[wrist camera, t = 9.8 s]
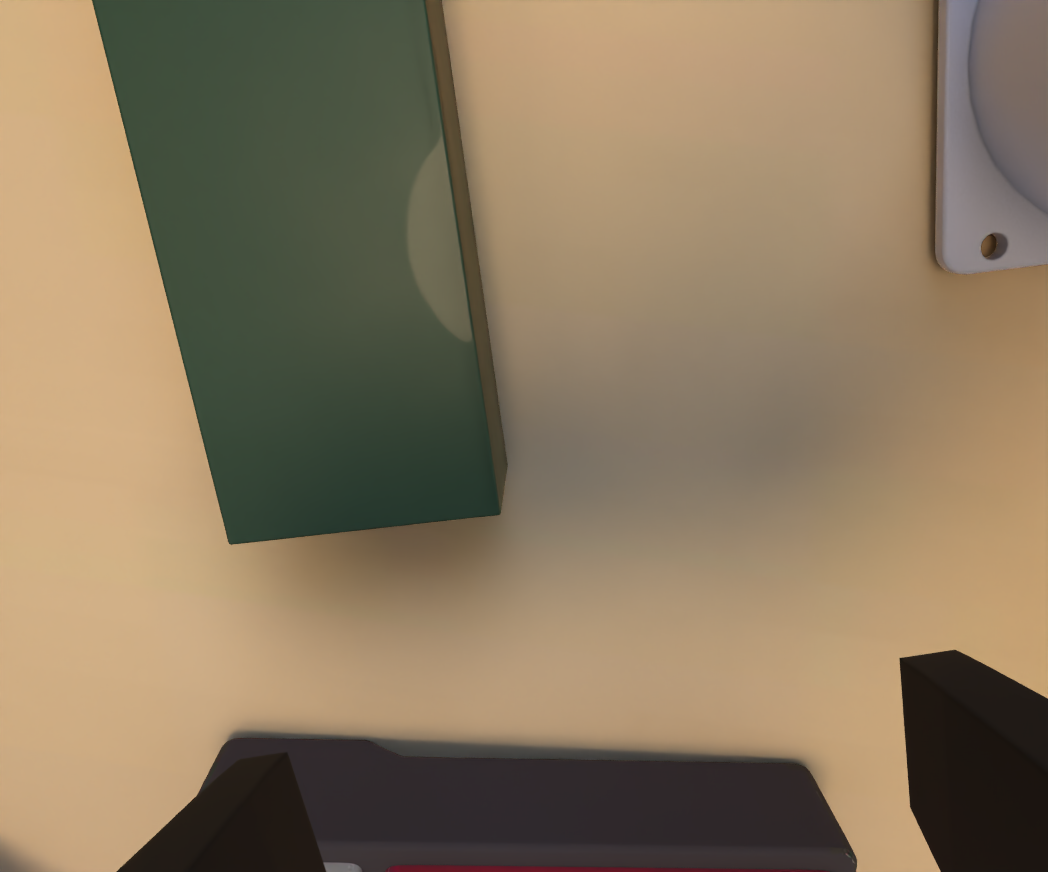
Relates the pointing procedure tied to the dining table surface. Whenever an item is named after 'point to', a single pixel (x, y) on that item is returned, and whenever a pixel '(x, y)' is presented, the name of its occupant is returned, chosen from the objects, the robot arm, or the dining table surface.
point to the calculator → (553, 812)
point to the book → (315, 256)
